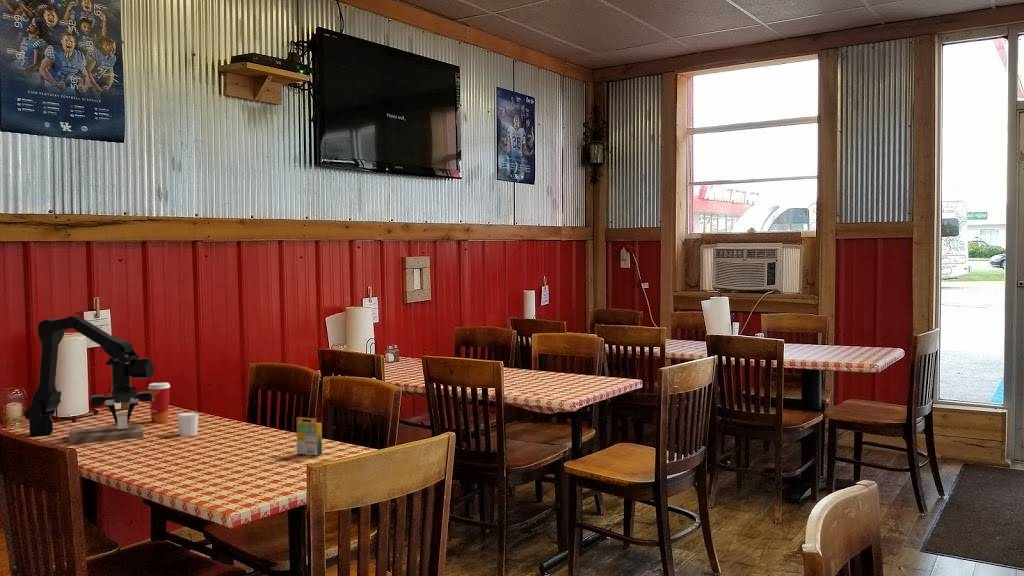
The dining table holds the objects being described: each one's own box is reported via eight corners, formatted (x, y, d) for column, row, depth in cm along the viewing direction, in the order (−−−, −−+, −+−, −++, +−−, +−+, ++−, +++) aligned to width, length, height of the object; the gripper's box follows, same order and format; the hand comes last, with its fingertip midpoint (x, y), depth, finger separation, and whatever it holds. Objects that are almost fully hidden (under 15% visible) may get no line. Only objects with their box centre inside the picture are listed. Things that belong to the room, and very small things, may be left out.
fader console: (68, 444, 264) (68, 438, 264) (69, 436, 277) (69, 429, 277) (143, 437, 275) (143, 431, 274) (140, 429, 287) (140, 423, 287)
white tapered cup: (202, 432, 282) (202, 412, 282) (192, 436, 275) (192, 416, 275) (183, 432, 283) (183, 411, 283) (173, 436, 276) (173, 415, 276)
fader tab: (117, 430, 275) (117, 416, 274) (117, 427, 280) (116, 413, 280) (127, 429, 276) (127, 415, 276) (126, 426, 281) (126, 412, 281)
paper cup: (149, 420, 303) (149, 382, 303) (172, 418, 306) (171, 381, 305) (147, 424, 296) (146, 386, 295) (170, 423, 298) (169, 384, 298)
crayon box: (322, 454, 251) (322, 416, 250) (317, 456, 248) (316, 418, 247) (302, 452, 253) (301, 415, 253) (296, 454, 250) (296, 417, 250)
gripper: (90, 383, 266) (91, 430, 266) (152, 379, 274) (153, 425, 275) (90, 378, 276) (91, 424, 276) (150, 374, 284) (151, 419, 285)
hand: (122, 423), depth 278 cm, fingers closed on fader tab, 3 cm apart
